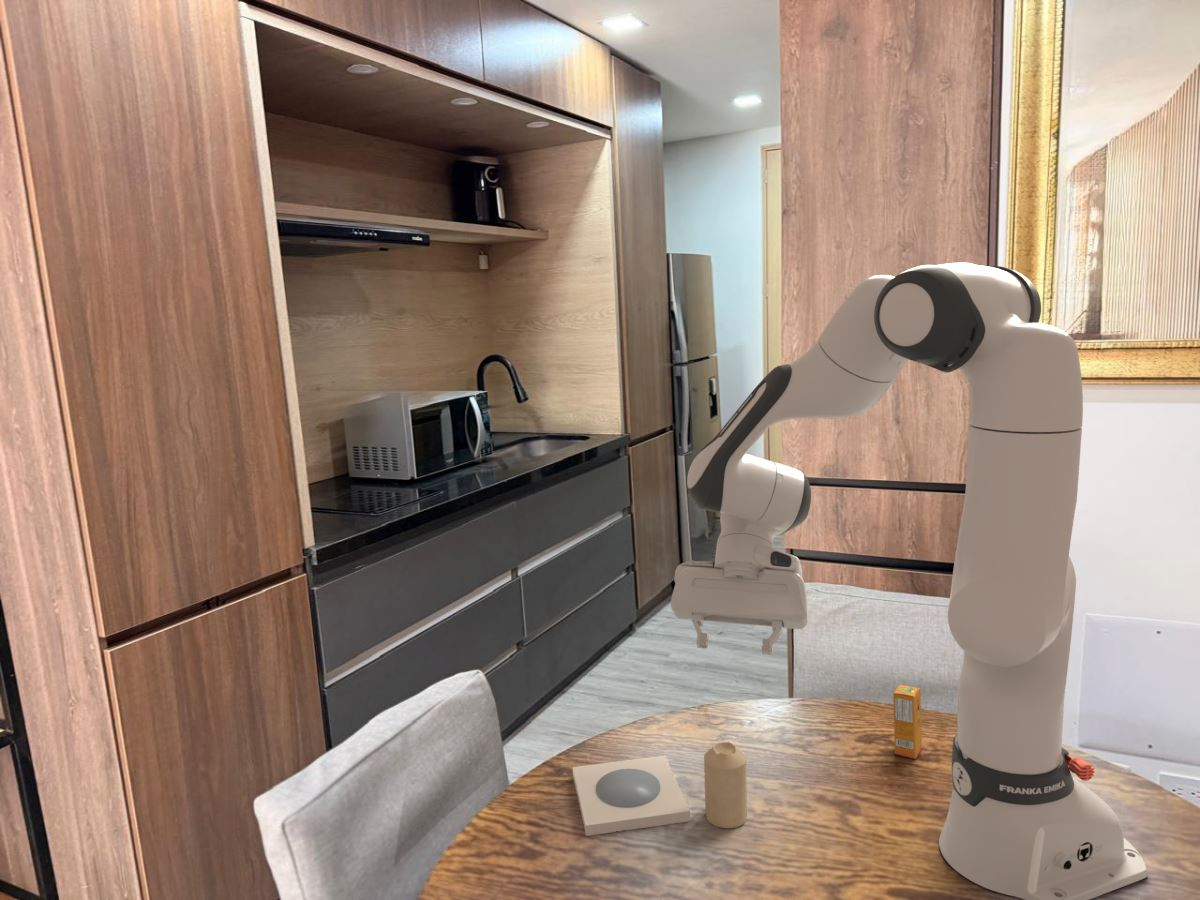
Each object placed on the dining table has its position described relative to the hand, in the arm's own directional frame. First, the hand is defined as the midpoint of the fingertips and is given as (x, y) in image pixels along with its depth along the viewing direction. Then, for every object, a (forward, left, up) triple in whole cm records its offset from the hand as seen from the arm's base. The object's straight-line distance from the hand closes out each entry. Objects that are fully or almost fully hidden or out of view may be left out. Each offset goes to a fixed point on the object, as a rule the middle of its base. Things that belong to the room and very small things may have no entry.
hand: (734, 649), depth 117 cm
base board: (+17, +5, -18) cm, 25 cm away
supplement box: (-26, +3, -18) cm, 32 cm away
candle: (+5, +12, -18) cm, 22 cm away
